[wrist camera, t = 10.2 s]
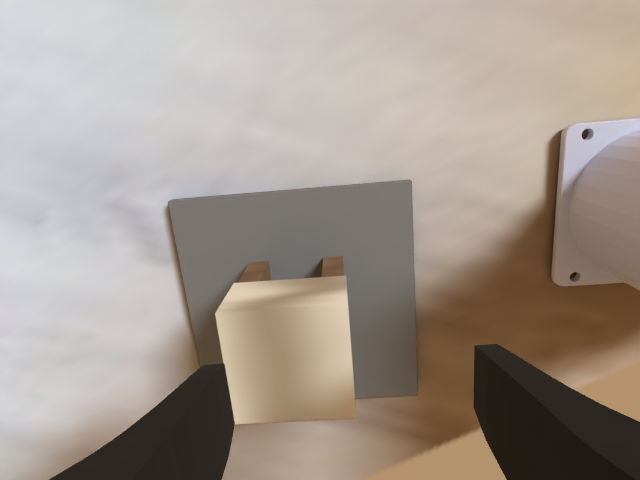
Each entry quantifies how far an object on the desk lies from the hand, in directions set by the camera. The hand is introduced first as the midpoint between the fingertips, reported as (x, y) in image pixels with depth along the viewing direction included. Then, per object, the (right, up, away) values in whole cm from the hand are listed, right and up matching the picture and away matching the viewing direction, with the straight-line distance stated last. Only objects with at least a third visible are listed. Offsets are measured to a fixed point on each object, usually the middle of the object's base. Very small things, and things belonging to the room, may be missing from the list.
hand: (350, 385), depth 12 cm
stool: (-2, +1, +10) cm, 10 cm away
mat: (-2, +1, +11) cm, 11 cm away
